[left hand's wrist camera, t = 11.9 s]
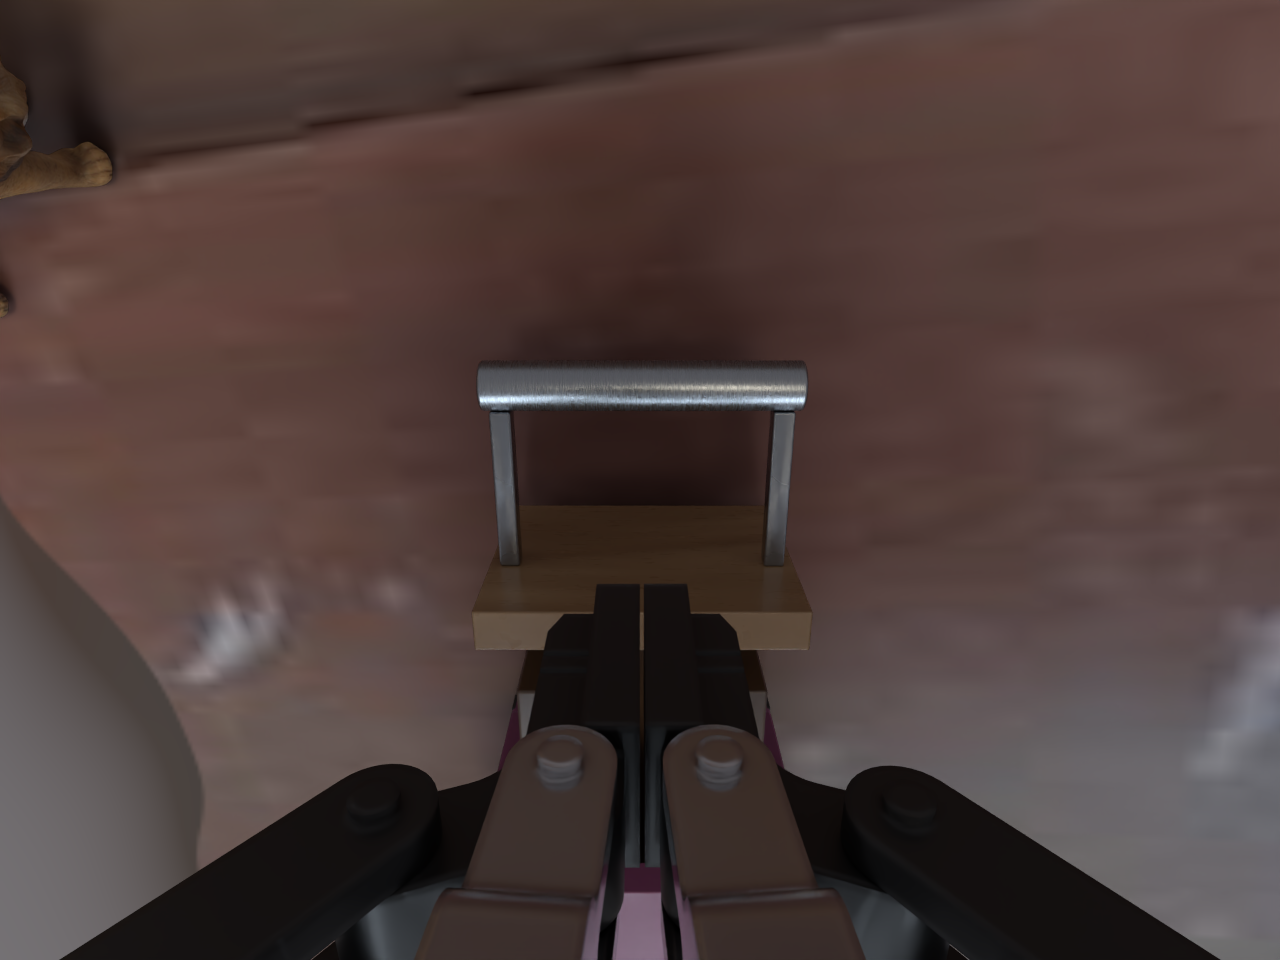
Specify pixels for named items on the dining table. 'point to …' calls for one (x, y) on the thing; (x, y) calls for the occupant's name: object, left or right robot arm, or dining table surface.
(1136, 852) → the dining table surface
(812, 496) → the dining table surface
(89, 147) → the lion figurine
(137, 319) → the dining table surface
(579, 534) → the drawer
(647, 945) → the purple rectangular box
